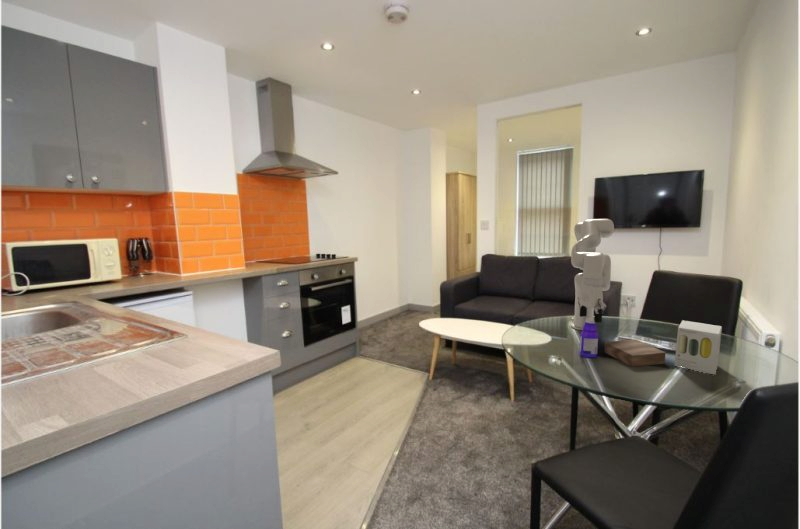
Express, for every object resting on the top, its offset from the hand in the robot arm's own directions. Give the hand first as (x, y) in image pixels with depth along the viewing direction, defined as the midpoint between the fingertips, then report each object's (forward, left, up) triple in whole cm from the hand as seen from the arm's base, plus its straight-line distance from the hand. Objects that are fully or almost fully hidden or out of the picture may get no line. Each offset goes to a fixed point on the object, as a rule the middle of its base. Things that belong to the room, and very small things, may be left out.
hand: (590, 319), depth 158 cm
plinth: (+6, +18, -18) cm, 26 cm away
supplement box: (+19, +36, -18) cm, 45 cm away
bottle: (0, 0, -18) cm, 18 cm away
